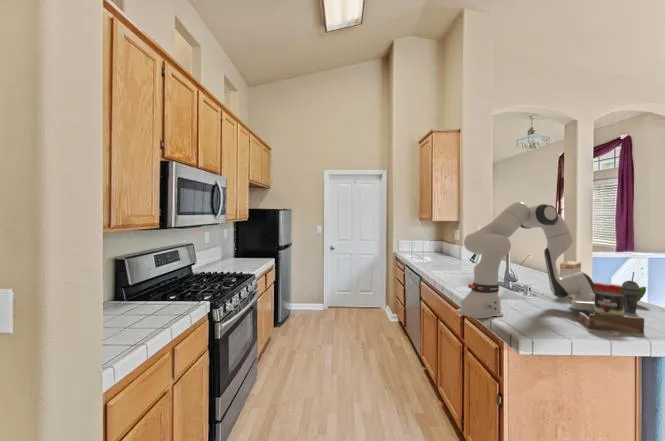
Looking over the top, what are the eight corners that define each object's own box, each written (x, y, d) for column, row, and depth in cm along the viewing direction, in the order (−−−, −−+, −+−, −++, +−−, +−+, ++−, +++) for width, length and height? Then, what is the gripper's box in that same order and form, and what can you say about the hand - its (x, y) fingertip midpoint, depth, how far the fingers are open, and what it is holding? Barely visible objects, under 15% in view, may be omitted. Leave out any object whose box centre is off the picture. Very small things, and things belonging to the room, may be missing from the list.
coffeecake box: (567, 292, 226) (568, 260, 226) (581, 294, 221) (581, 262, 220) (558, 295, 217) (559, 262, 216) (572, 297, 211) (573, 264, 211)
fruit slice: (584, 298, 210) (585, 281, 209) (587, 296, 214) (587, 279, 214) (644, 307, 191) (645, 288, 191) (645, 304, 195) (646, 286, 195)
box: (578, 319, 168) (578, 306, 168) (626, 323, 163) (627, 309, 163) (590, 328, 155) (590, 314, 155) (643, 333, 150) (644, 318, 150)
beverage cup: (619, 309, 186) (620, 270, 186) (637, 311, 183) (638, 271, 182) (621, 312, 180) (622, 272, 180) (640, 314, 176) (641, 273, 176)
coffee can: (621, 330, 153) (622, 297, 152) (591, 325, 160) (592, 293, 160) (625, 325, 160) (626, 293, 159) (596, 320, 167) (597, 289, 167)
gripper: (566, 294, 181) (577, 301, 167) (615, 297, 175) (630, 304, 162) (566, 307, 181) (577, 315, 167) (615, 310, 175) (629, 318, 162)
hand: (603, 310), depth 164 cm, fingers closed, pressing on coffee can
